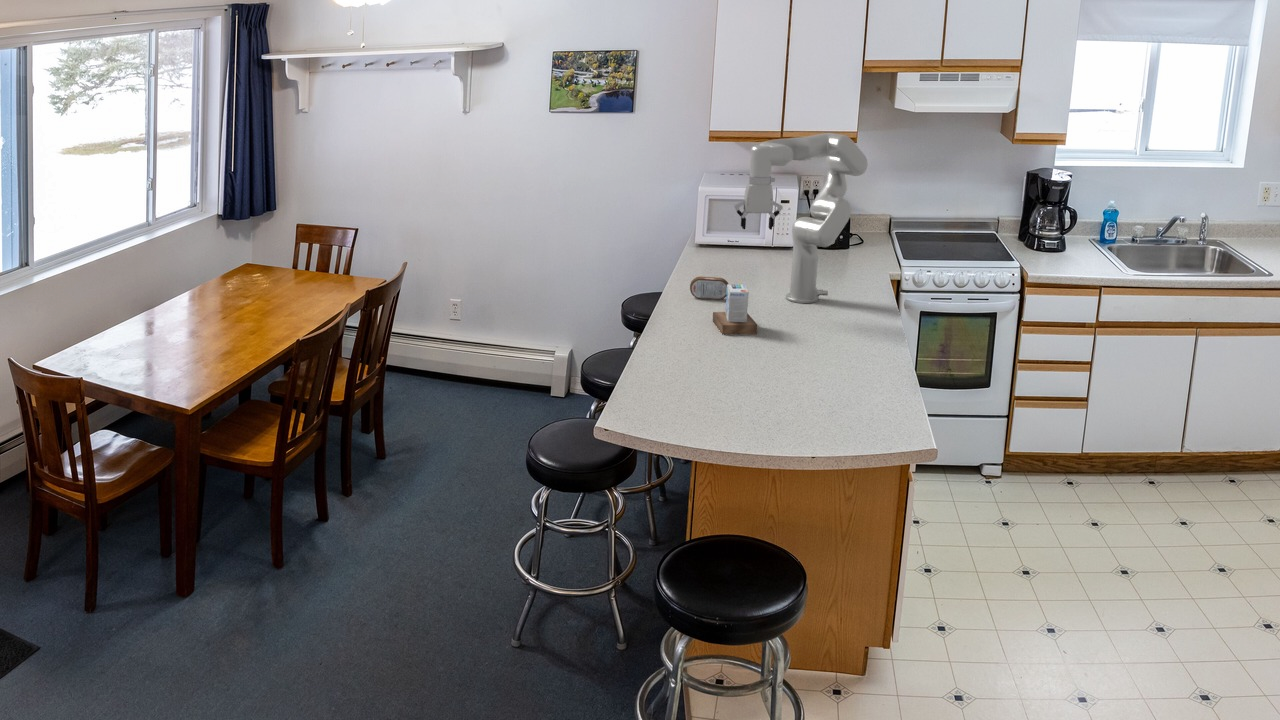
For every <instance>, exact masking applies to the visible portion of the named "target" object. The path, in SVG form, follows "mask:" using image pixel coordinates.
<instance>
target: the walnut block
mask: <svg viewBox="0 0 1280 720" xmlns="http://www.w3.org/2000/svg"><path fill="white" fill-rule="evenodd" d="M725 312H726V311H713V312H712V323H714V326H715V327H716V326H717V327H716V328H717V330H718V331H719V330H720V331H719V332H720V334H721V333H722V334H721V335H722V336H723V334H724V335H725V336H727V335H729V336H730V334H733V335H757V333H758V323H757V322H756V321H755V320H754V319H753V318H752V316H750V314H749V313H748V312H747V322H728V321H727V317H726V314H725ZM726 334H727V335H726Z"/></svg>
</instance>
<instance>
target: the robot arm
mask: <svg viewBox="0 0 1280 720" xmlns="http://www.w3.org/2000/svg"><path fill="white" fill-rule="evenodd" d="M825 157H826V159H825V167H826V181H825V183H824V185H823V186H822V188H821V189H820V191H819V193H818V194H817V195H816V197H815V198H814V200H813V202H812V203H811V205H810V206H809V207H810V208H809V212H810V215H811V216H812V217H809V216H802V217H798V218H797V219H796V220H795V221H794V223H793V224H792V228H791V237H792V244H793V245H792V247H793V248H792V250H793V251H792V261H791V275H790V276H791V277H790V291H789V292H788V293H787V294H785V299H786V300H787V301H789V302H792V303H797V304H813V303H817V302H818V301H820V296H828V295H829V292H828V290H826V289H825V290H824V289H818V288H817V276H818V275H817V274H818V265H819V264H818V263H819V250H818V247H822V248H827V247H829V246H831V245H833V244H834V242H835V241H836V240H837V238H838V237H839V235H840V234H841V232H842V231H843V229H844V228H845V227H846V225H847V223H848V222H849V220H850V217H851V214H852V206H851V203H850V201H848V199H846V198H844V197H845V195H846V193H847V191H848V190H847V189H848V186H847V185H848V184H847V180H846V179H847V178H846V175H847V176H852V177H858V176H863V174H865V173H866V171H867V169H868V159H867V156H866V155H865V153H864V152H863V151H862V150H861V149H860V148H859V146H858V145H857V144H856V143H855V142H854V141H853V140H852V139H851V137H849V136H847V135H845V134H840V133H832V132H823V133H816V134H812V135H809V136H808V135H807V136H800V137H797V136H796V137H791V138H788V137H787V138H777V139H770V140H766V141H762V142H761V143H759V144H757V145H753V146H752V147H751V148H750V160H749V161H750V163H749V164H750V165H749V177H748V178H749V179H748V183H746V184H745V191H744V197H743V200H741V201H740V202H738V203H735V204H734V205H733V208H734V210H735V212H736V213H737V214H738V215H739V217H740V227H742V229H743V230H746V227H747V226H746V223H747V218H746V217H747V215H748V214H768V215H769V217H768V229H769V230H771V231H772V230H773V227H774V226H775V225H774V224H775V219H776V217H777V216H779V214H780V213H781V211H782V209H783V208H784V206H782V205H781V204H780V203H778V202H776V201H774V190H773V184H772V183H773V182H775V181H776V178H775V177H772V167H773V166H775V167H776V166H777V167H785V166H788V165H789V164H790V163H791V162H792V161H798V162H801V161H805V162H806V161H811V160H816V159H819V158H821V159H822V158H825ZM740 207H743V211H741V210H740ZM774 207H776V210H775V211H774ZM773 211H774V212H773Z"/></svg>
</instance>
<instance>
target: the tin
mask: <svg viewBox="0 0 1280 720" xmlns="http://www.w3.org/2000/svg"><path fill="white" fill-rule="evenodd" d="M727 284H729V282H728V281H727V280H726V278H725V279H724V278H722V277H717V276H697V277H694V278H693V279H692V280H691V281H690V284H689V291H690V294H691V296H693V297H694V298H696V299H699V300H711V299H714V300H713V301H719V300H720V301H721V300H724V299H726V295H727Z"/></svg>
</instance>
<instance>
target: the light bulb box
mask: <svg viewBox="0 0 1280 720" xmlns="http://www.w3.org/2000/svg"><path fill="white" fill-rule="evenodd" d="M748 304H749V289H748V288H747V286H746V284H729V283H728V284H727V295H726V297H725V311H724V312H725V314H726V317H727V321H728V322H747V313H748Z"/></svg>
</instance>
